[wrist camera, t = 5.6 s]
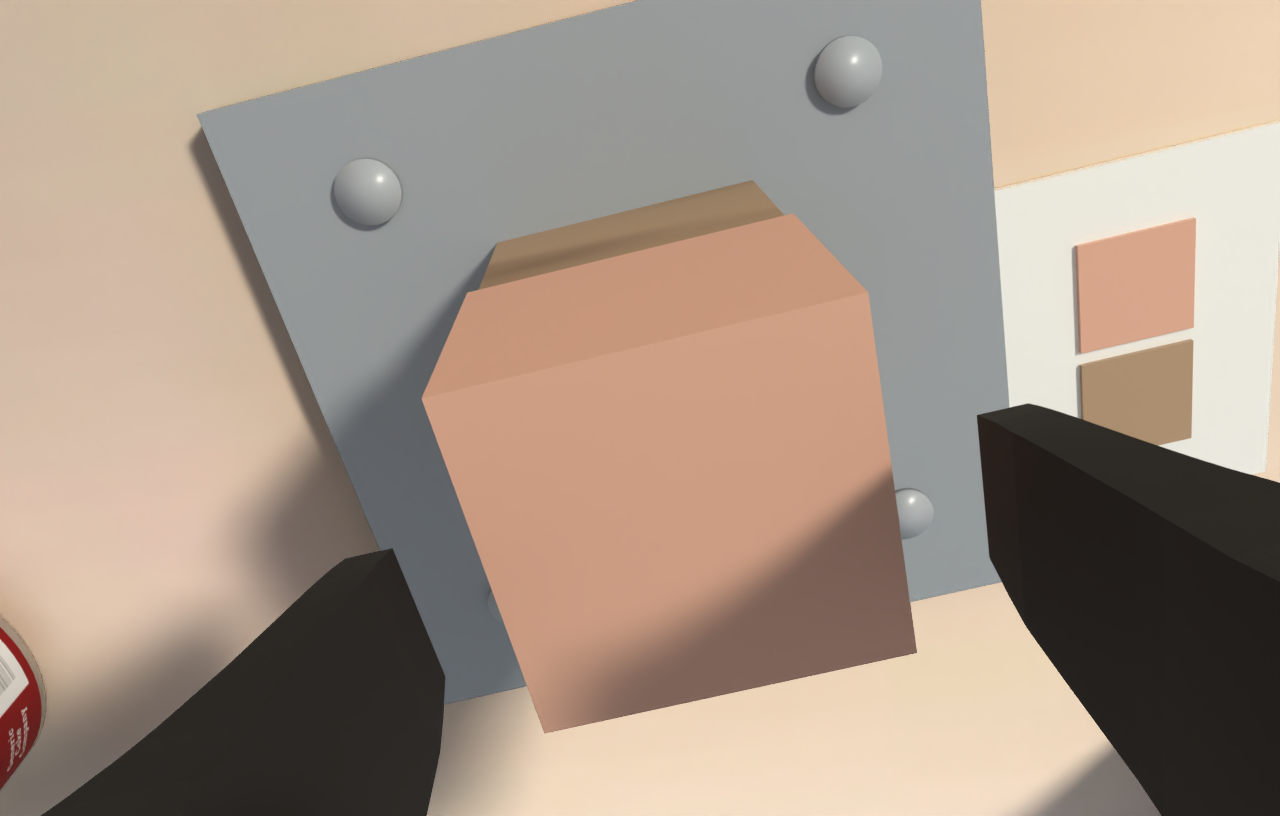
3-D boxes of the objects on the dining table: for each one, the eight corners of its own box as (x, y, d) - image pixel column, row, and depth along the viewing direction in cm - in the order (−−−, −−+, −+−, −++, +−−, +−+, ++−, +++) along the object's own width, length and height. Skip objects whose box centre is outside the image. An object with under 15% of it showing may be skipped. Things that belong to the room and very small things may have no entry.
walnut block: (794, 413, 19) (842, 510, 16) (565, 466, 19) (559, 574, 16) (752, 180, 17) (795, 228, 14) (497, 242, 17) (471, 306, 14)
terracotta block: (840, 499, 15) (917, 652, 12) (555, 563, 16) (544, 732, 12) (793, 213, 13) (867, 292, 10) (467, 292, 14) (421, 398, 10)
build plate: (1007, 558, 22) (1025, 582, 21) (449, 681, 23) (443, 710, 22) (957, -83, 16) (979, -88, 15) (213, 109, 17) (192, 115, 16)
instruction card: (1259, 467, 21) (1268, 473, 21) (1004, 524, 22) (1009, 530, 21) (1279, 120, 18) (1290, 121, 18) (978, 192, 18) (984, 195, 18)
